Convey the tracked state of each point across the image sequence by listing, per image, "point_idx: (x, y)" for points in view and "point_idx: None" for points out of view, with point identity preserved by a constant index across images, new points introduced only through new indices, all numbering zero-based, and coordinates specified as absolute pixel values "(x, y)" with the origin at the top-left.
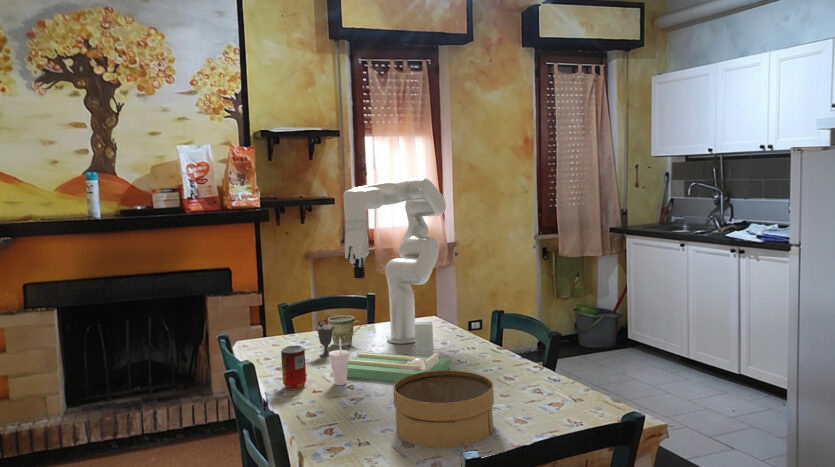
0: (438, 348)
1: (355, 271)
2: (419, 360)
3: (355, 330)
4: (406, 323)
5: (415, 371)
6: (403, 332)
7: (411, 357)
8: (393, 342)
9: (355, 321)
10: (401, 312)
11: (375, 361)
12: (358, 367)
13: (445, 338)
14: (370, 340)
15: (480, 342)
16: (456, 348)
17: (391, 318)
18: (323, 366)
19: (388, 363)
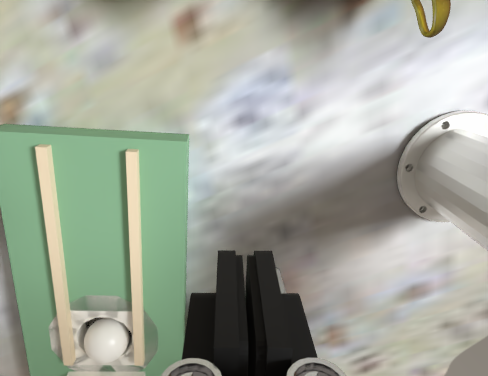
0: (356, 295)
1: (187, 330)
2: (96, 360)
3: (414, 6)
4: (453, 221)
5: (49, 356)
6: (429, 197)
7: (137, 322)
8: (403, 153)
9: (433, 7)
10: (479, 228)
11: (94, 228)
12: (15, 205)
13: (467, 280)
14: (450, 44)
15: (422, 368)
16: (359, 335)
17: (481, 166)
18: (81, 20)
19: (57, 288)
